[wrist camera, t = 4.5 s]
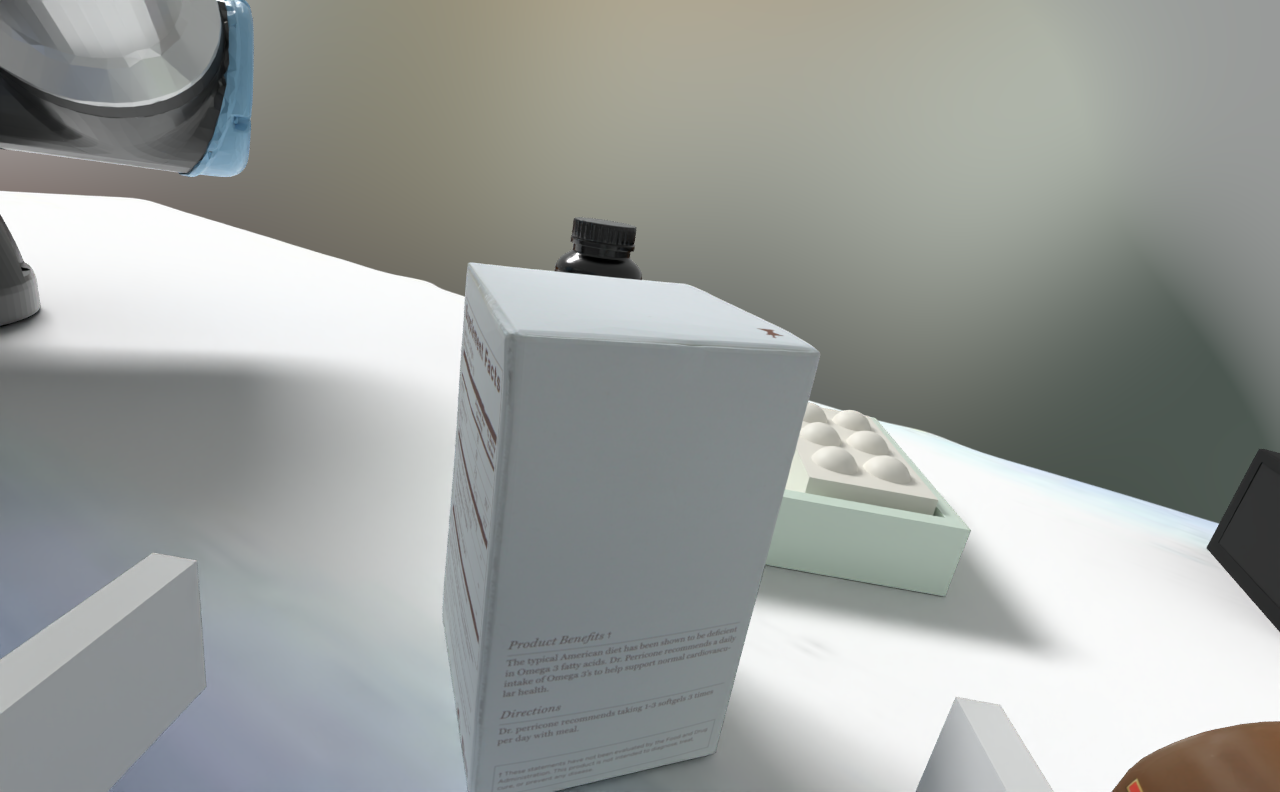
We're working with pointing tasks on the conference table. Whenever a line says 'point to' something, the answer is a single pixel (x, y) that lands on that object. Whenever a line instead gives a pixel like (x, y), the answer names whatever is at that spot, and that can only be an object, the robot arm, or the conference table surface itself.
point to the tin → (1212, 763)
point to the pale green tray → (869, 539)
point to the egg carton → (854, 463)
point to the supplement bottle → (600, 250)
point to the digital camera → (1254, 535)
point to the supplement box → (608, 519)
